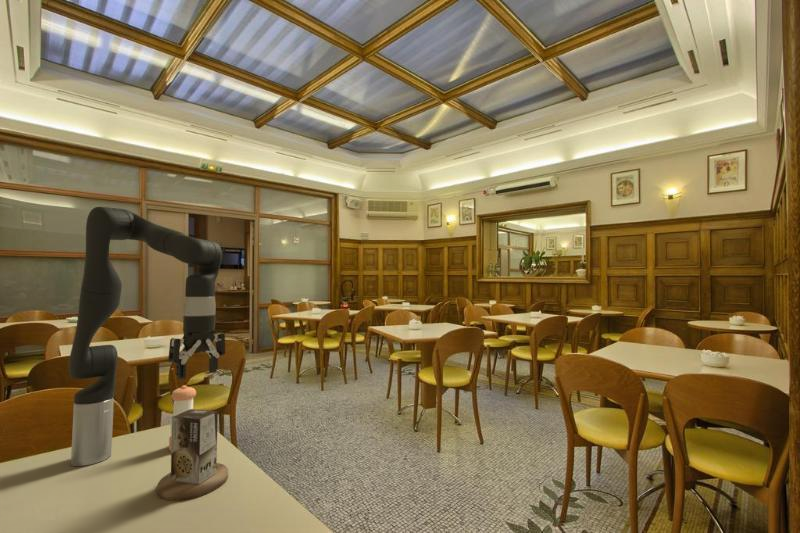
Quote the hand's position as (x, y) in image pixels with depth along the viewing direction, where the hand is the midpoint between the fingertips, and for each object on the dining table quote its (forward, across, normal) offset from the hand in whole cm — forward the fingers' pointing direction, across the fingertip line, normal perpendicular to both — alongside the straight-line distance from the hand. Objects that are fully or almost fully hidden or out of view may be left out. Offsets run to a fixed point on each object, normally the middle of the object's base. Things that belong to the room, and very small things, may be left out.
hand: (197, 375), depth 97 cm
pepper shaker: (+28, +12, +25) cm, 39 cm away
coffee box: (+26, 0, 0) cm, 26 cm away
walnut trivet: (+27, 0, 0) cm, 27 cm away
